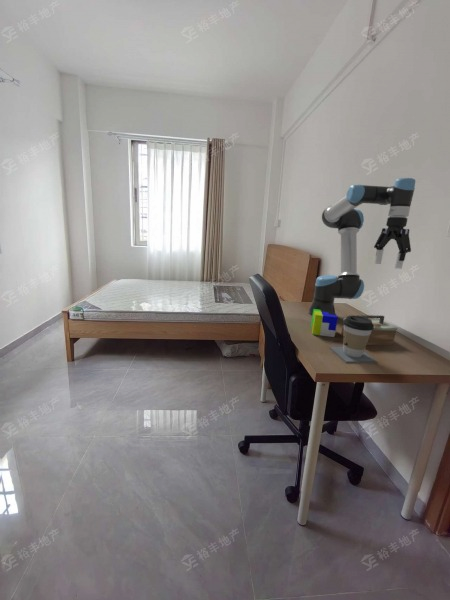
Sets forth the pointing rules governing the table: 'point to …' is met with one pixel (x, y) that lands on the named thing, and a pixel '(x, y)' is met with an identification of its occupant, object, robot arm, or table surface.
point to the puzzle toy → (324, 322)
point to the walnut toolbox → (379, 331)
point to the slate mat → (347, 359)
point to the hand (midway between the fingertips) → (387, 266)
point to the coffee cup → (356, 335)
